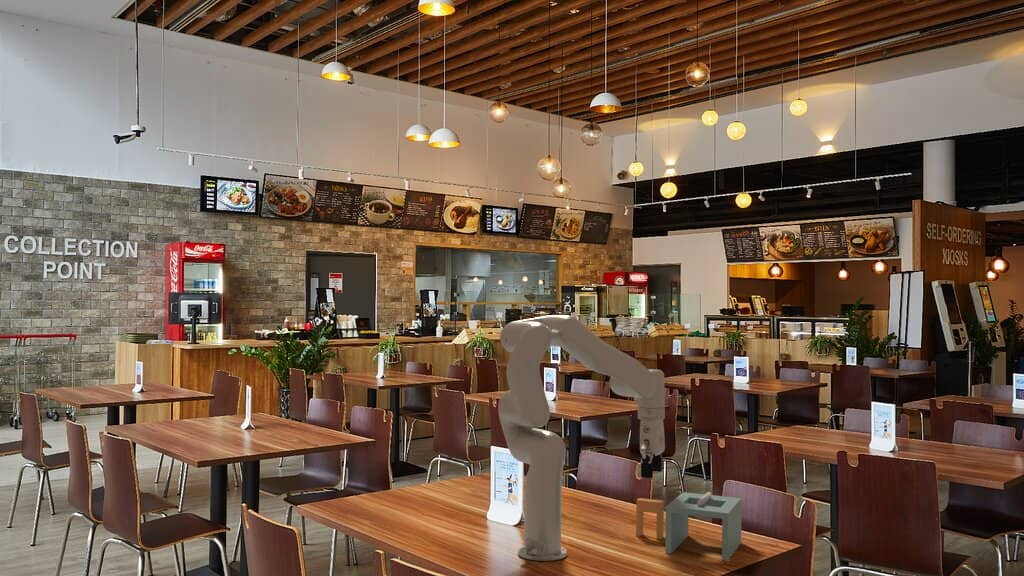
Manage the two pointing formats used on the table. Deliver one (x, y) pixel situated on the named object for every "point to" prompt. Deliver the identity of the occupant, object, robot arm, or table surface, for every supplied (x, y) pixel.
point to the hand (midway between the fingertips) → (651, 474)
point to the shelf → (682, 509)
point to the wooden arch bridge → (651, 507)
